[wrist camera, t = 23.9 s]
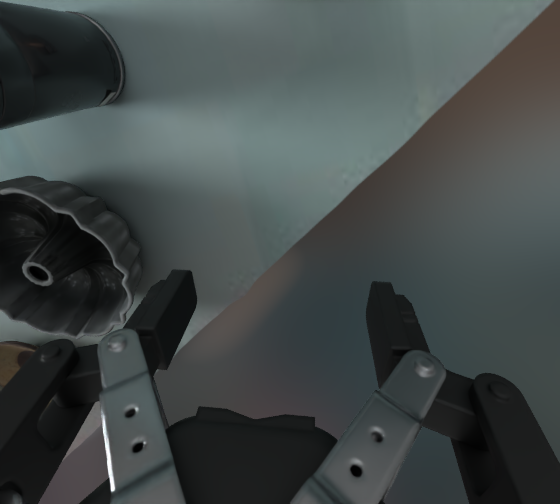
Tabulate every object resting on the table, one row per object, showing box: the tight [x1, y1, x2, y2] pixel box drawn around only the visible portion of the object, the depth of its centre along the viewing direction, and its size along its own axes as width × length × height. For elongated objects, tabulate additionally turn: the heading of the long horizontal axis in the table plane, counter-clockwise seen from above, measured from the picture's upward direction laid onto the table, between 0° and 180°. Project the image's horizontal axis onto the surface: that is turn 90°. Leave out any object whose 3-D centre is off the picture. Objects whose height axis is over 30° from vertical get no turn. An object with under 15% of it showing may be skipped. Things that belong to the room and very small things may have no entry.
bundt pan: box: [0, 176, 142, 339], centre depth 47 cm, size 26×26×10 cm
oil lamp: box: [0, 341, 53, 408], centre depth 68 cm, size 22×30×8 cm
